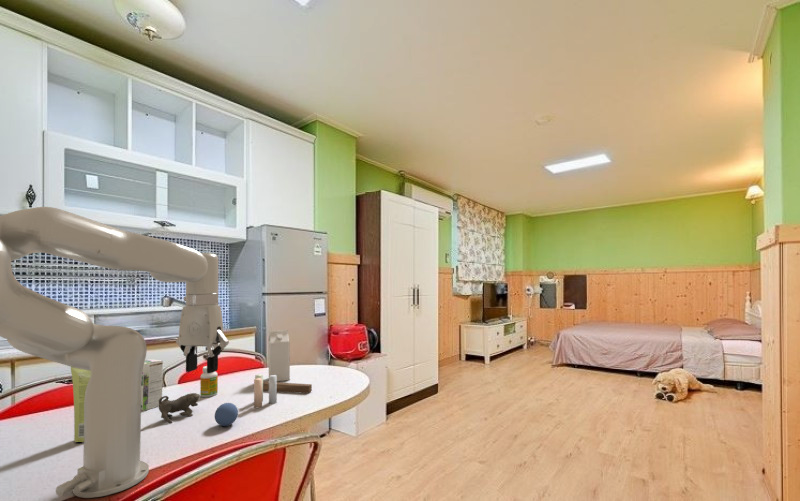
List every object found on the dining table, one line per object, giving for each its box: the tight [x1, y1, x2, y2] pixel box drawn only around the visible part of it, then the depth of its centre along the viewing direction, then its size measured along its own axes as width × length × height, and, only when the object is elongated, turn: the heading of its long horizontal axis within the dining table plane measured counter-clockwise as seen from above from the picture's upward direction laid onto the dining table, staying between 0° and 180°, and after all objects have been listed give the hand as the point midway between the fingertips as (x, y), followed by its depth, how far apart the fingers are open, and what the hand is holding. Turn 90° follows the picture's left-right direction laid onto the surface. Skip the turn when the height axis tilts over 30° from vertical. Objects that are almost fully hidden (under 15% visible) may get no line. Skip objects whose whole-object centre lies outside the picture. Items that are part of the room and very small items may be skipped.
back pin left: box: [254, 373, 264, 403], centre depth 128 cm, size 2×2×8 cm
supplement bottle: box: [199, 365, 219, 398], centre depth 136 cm, size 5×5×10 cm
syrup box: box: [141, 358, 164, 411], centre depth 125 cm, size 6×6×14 cm
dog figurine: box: [158, 392, 200, 424], centre depth 116 cm, size 12×6×7 cm, turn 144°
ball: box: [214, 402, 239, 427], centre depth 109 cm, size 6×6×6 cm
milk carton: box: [268, 329, 291, 382], centre depth 154 cm, size 7×7×19 cm
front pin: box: [253, 378, 263, 409], centre depth 123 cm, size 2×2×8 cm
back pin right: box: [268, 375, 278, 405], centre depth 127 cm, size 2×2×8 cm
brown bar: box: [263, 381, 313, 394], centre depth 139 cm, size 2×20×2 cm, turn 76°
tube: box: [70, 367, 91, 443], centre depth 102 cm, size 6×5×20 cm
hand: (201, 370), depth 100 cm, fingers open, 5 cm apart
